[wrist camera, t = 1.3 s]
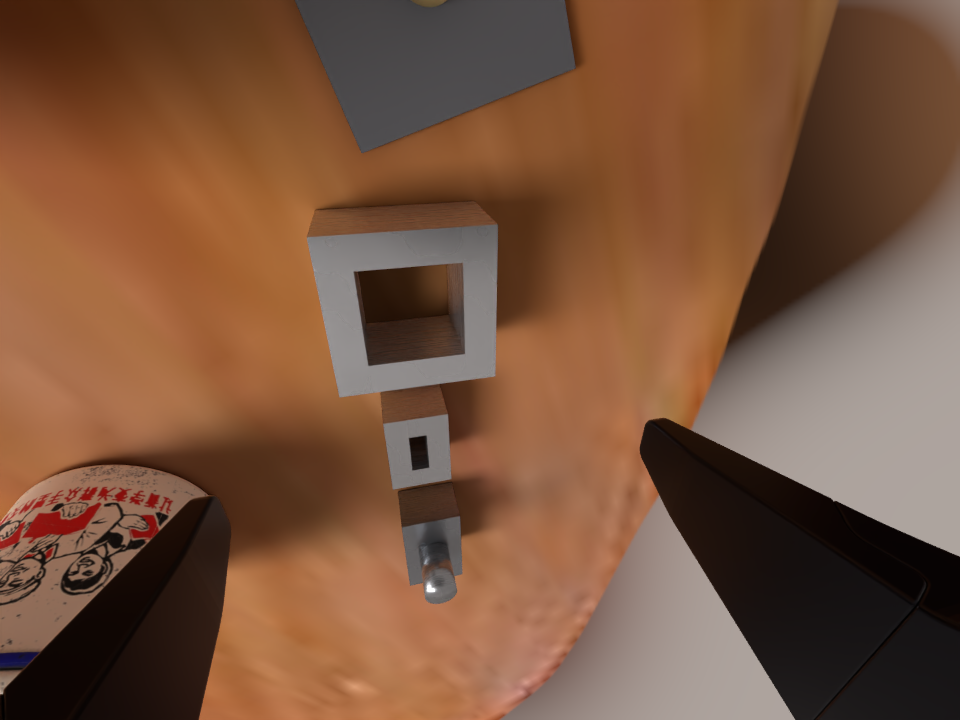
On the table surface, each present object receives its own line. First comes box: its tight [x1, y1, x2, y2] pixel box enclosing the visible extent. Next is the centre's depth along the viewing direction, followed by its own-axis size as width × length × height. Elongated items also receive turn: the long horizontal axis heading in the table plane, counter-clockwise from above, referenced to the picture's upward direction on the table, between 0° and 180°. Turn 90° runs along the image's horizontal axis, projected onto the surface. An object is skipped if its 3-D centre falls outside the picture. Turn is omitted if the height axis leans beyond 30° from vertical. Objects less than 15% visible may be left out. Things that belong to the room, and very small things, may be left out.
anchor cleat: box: [398, 482, 462, 604], centre depth 25 cm, size 5×3×5 cm, turn 1°
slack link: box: [381, 384, 451, 489], centre depth 22 cm, size 4×3×2 cm
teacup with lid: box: [0, 465, 209, 694], centre depth 17 cm, size 12×9×12 cm
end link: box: [307, 201, 498, 397], centre depth 17 cm, size 6×6×4 cm
